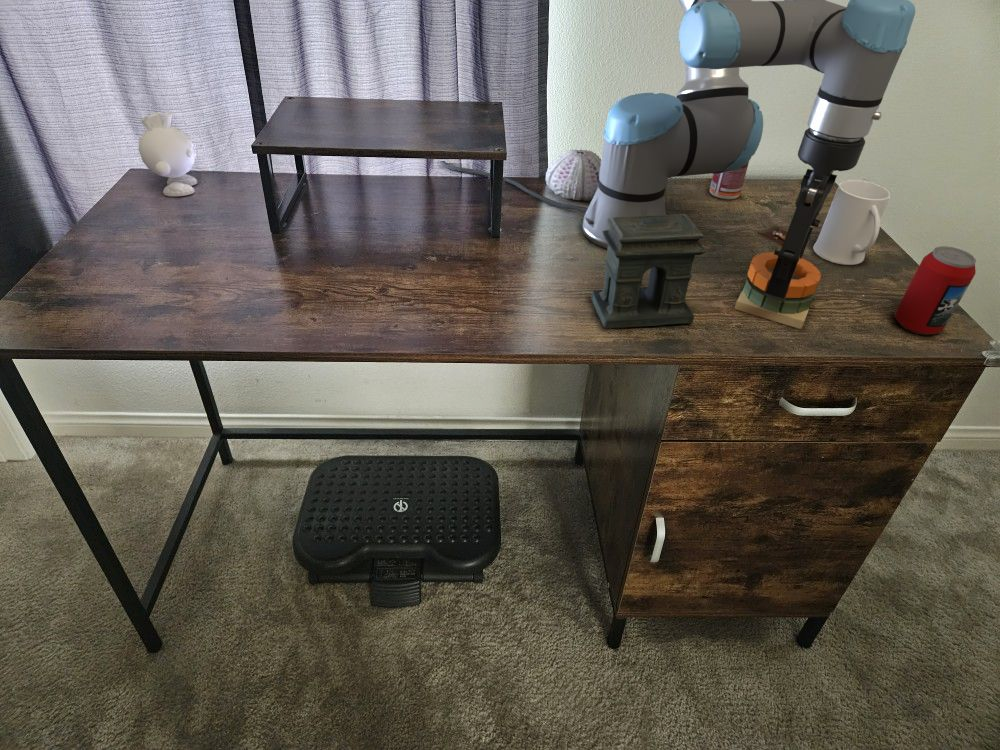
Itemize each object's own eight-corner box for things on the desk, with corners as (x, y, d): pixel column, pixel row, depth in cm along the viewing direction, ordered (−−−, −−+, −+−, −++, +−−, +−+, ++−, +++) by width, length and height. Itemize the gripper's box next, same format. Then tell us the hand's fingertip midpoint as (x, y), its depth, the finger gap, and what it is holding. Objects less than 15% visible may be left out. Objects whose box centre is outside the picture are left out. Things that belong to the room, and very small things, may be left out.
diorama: (782, 243, 118) (785, 232, 116) (765, 234, 120) (769, 224, 119) (792, 239, 119) (796, 228, 118) (776, 231, 121) (779, 220, 120)
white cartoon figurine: (200, 206, 121) (178, 126, 112) (145, 209, 119) (118, 128, 110) (209, 174, 132) (190, 98, 123) (159, 176, 131) (135, 100, 121)
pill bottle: (745, 194, 134) (760, 141, 127) (729, 203, 130) (744, 148, 123) (718, 185, 137) (732, 132, 130) (702, 193, 133) (715, 139, 126)
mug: (879, 276, 110) (910, 210, 102) (829, 274, 110) (856, 208, 102) (852, 242, 119) (879, 180, 111) (806, 240, 119) (829, 177, 111)
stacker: (734, 309, 100) (749, 260, 95) (749, 280, 107) (765, 234, 102) (801, 329, 97) (820, 280, 91) (812, 298, 103) (831, 251, 98)
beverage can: (939, 343, 95) (981, 272, 87) (889, 328, 98) (925, 258, 90) (942, 322, 100) (982, 252, 92) (895, 307, 102) (930, 239, 94)
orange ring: (740, 284, 98) (744, 273, 96) (756, 257, 104) (760, 246, 103) (809, 305, 94) (814, 293, 93) (821, 275, 101) (825, 263, 100)
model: (671, 293, 103) (692, 205, 94) (693, 326, 96) (718, 234, 87) (588, 298, 101) (600, 209, 92) (604, 332, 94) (620, 239, 85)
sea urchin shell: (609, 180, 137) (614, 142, 132) (609, 207, 127) (616, 168, 122) (546, 175, 138) (549, 137, 133) (542, 202, 128) (545, 162, 122)
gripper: (855, 166, 76) (793, 322, 90) (876, 114, 91) (820, 254, 105) (789, 152, 79) (739, 305, 93) (820, 104, 94) (773, 242, 108)
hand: (782, 278), depth 99 cm, fingers closed on orange ring, 10 cm apart
